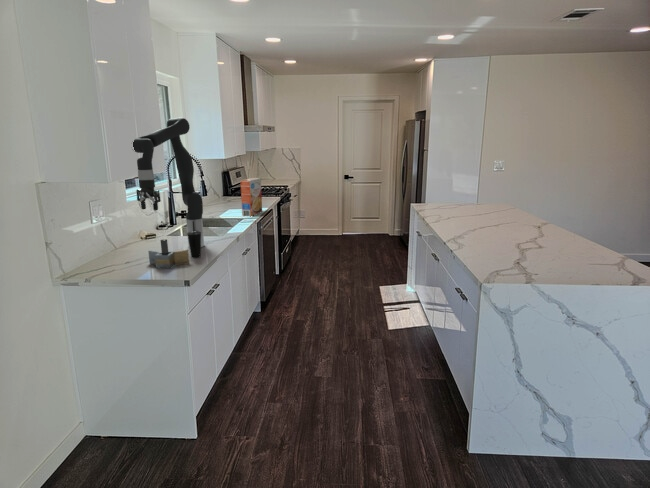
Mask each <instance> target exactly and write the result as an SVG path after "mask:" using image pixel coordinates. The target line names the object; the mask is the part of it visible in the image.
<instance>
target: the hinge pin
mask: <svg viewBox="0 0 650 488" xmlns="http://www.w3.org/2000/svg"><path fill="white" fill-rule="evenodd" d="M159 242H160V249H161V251H162V255H168V254H169V253H168V251H169V246H168V243H169V242H168V239H167V238H166V239H164V238H163V239H160V241H159Z"/></svg>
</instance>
